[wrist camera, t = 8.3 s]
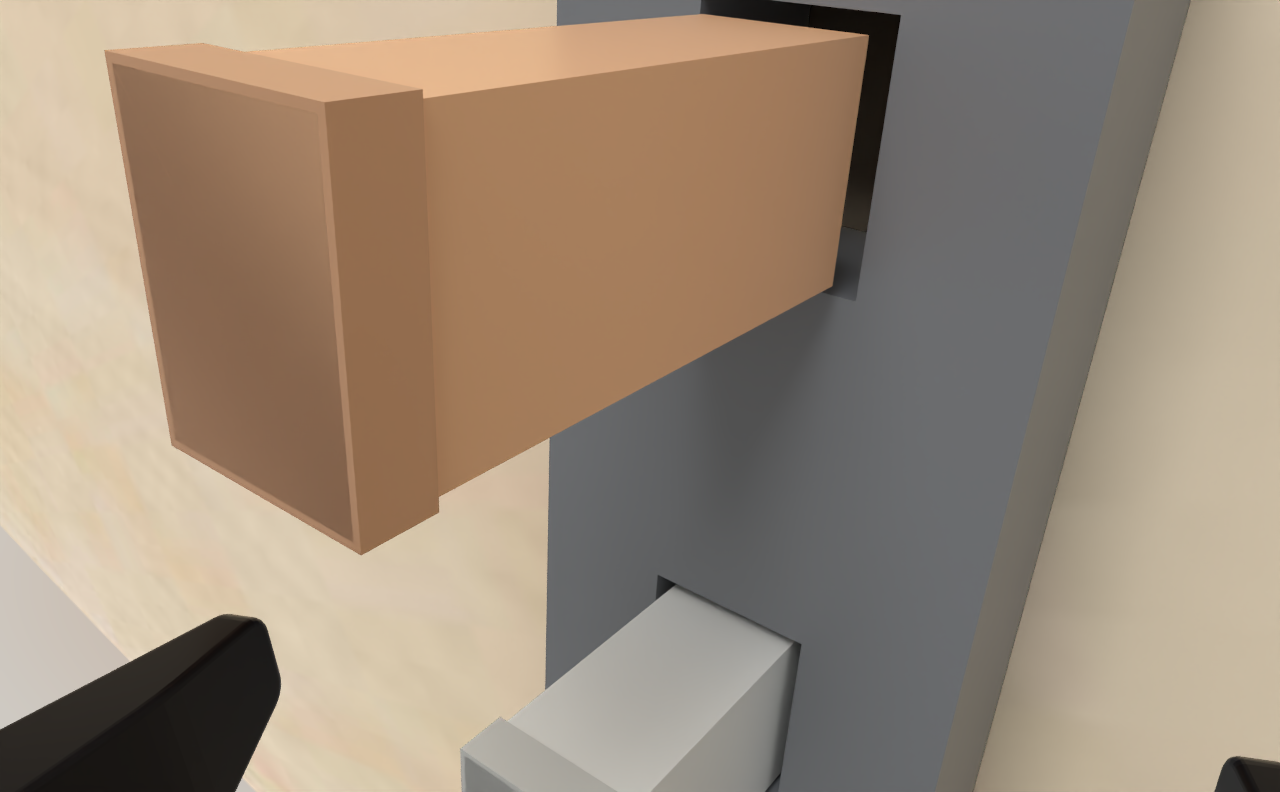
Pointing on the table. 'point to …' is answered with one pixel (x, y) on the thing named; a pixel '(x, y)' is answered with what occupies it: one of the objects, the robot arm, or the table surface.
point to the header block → (887, 393)
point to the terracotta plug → (466, 238)
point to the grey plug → (652, 711)
